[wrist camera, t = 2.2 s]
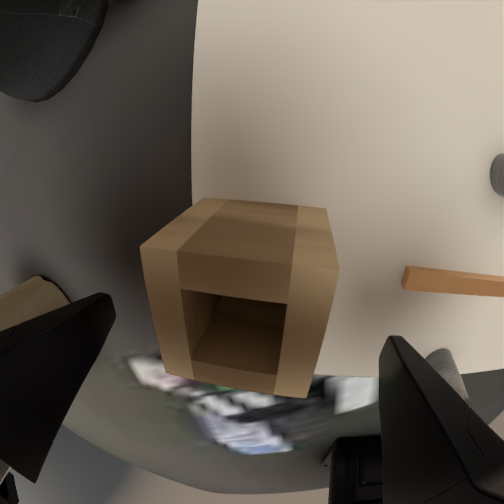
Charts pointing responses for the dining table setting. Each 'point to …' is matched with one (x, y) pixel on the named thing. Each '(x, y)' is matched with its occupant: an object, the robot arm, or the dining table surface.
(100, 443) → the dining table surface
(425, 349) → the course mat
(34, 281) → the flower pot
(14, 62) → the dark grey holder
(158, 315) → the oak open box
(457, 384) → the wire and posts
